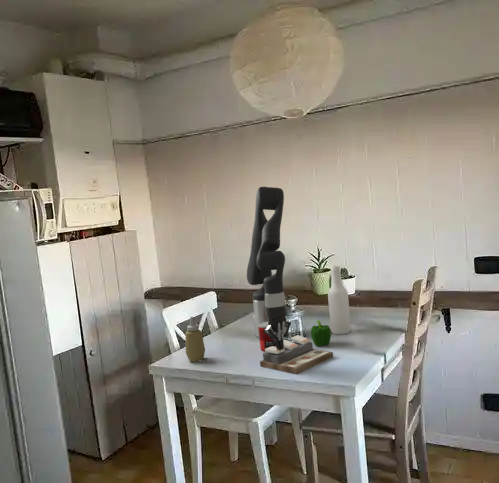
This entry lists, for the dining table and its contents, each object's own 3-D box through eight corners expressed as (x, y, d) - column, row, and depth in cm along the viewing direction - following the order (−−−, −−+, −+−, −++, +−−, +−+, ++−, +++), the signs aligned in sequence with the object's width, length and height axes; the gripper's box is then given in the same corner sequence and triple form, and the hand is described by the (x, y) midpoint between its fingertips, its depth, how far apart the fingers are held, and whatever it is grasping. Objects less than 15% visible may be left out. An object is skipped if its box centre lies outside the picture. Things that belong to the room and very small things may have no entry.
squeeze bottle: (198, 363, 228) (193, 320, 226) (182, 362, 233) (177, 319, 231) (210, 357, 235) (205, 315, 233) (194, 356, 239) (189, 314, 238)
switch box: (260, 366, 217) (259, 353, 217) (297, 350, 233) (296, 338, 232) (296, 374, 204) (295, 360, 204) (333, 357, 220) (332, 344, 219)
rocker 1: (265, 352, 217) (264, 348, 216) (272, 349, 219) (271, 346, 219) (277, 355, 212) (277, 351, 212) (284, 352, 215) (284, 348, 215)
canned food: (266, 353, 233) (263, 327, 232) (257, 349, 240) (254, 324, 239) (282, 349, 237) (279, 323, 235) (272, 345, 244) (270, 320, 243)
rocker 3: (291, 341, 227) (291, 337, 226) (297, 338, 230) (297, 334, 229) (303, 345, 222) (303, 342, 222) (309, 343, 225) (310, 339, 225)
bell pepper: (331, 347, 232) (329, 323, 231) (311, 348, 234) (309, 324, 233) (332, 341, 241) (330, 318, 240) (313, 342, 242) (310, 319, 241)
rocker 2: (278, 346, 222) (278, 342, 221) (285, 343, 224) (285, 339, 224) (290, 351, 217) (291, 347, 217) (297, 348, 220) (297, 344, 220)
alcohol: (345, 328, 259) (339, 263, 256) (354, 332, 251) (349, 265, 248) (327, 331, 256) (322, 266, 253) (336, 336, 248) (331, 268, 245)
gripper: (279, 300, 219) (284, 343, 221) (255, 307, 210) (260, 353, 211) (294, 301, 214) (299, 346, 215) (270, 308, 205) (275, 355, 206)
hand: (280, 349), depth 213 cm, fingers closed
